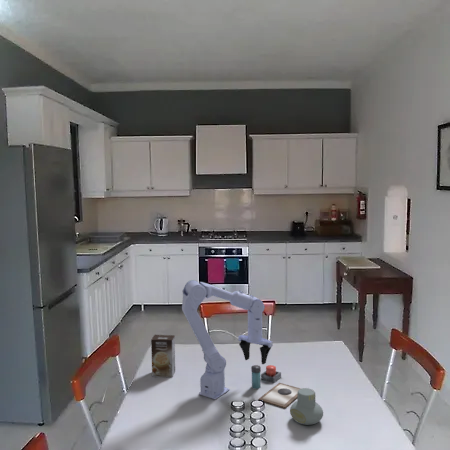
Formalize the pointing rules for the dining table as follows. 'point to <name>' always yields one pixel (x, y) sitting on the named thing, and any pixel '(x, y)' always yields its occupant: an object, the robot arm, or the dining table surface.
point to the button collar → (270, 378)
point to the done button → (271, 370)
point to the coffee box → (163, 355)
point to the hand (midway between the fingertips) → (255, 361)
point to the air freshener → (306, 408)
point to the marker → (256, 376)
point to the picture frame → (281, 395)
